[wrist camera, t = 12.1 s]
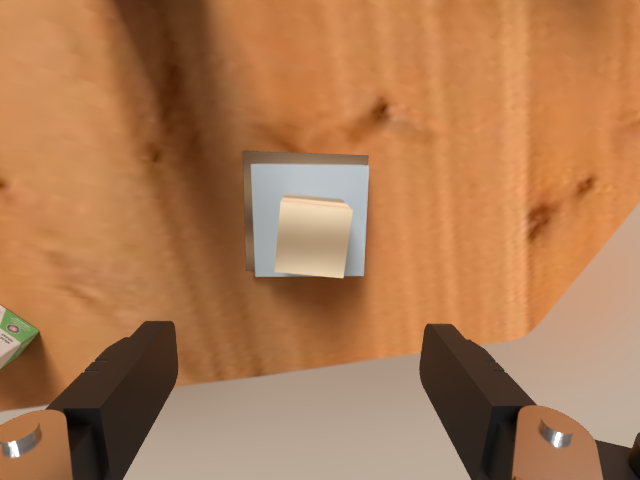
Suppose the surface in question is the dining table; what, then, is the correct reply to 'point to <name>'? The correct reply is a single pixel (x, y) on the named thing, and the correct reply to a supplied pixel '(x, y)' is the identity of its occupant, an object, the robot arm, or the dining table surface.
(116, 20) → the dining table surface
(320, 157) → the walnut plinth block
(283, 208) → the maple block
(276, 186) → the slate-blue block
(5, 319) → the ink box
